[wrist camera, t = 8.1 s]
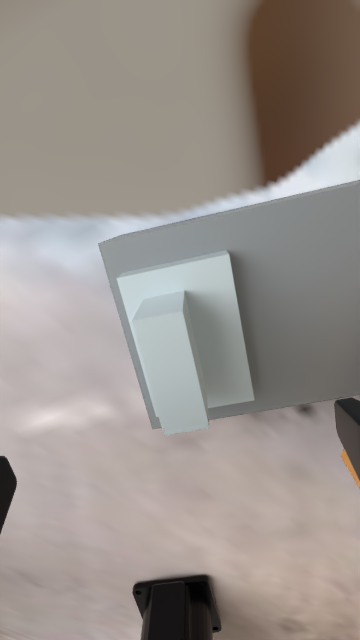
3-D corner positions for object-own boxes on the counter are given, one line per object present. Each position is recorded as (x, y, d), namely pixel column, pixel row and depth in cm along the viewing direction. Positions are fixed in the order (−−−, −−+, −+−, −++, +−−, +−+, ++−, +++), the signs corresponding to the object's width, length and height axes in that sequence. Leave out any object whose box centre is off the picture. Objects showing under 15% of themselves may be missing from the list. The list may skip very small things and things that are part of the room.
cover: (250, 387, 17) (268, 442, 13) (158, 403, 17) (148, 461, 13) (226, 250, 15) (238, 266, 11) (122, 273, 15) (97, 296, 11)
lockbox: (396, 344, 21) (451, 380, 16) (160, 386, 22) (152, 430, 18) (393, 172, 18) (459, 160, 13) (119, 235, 19) (97, 244, 15)
